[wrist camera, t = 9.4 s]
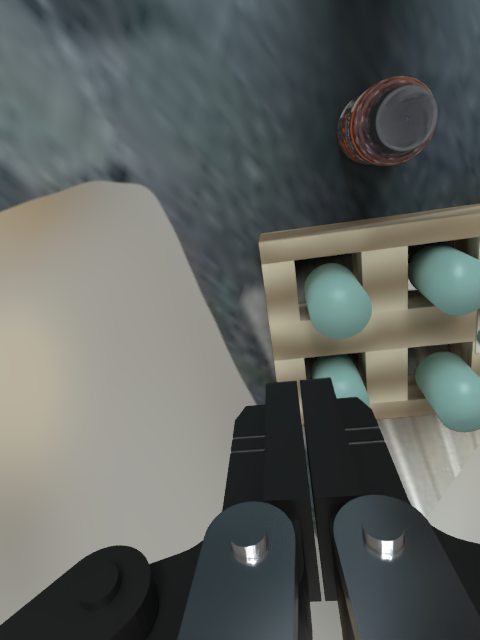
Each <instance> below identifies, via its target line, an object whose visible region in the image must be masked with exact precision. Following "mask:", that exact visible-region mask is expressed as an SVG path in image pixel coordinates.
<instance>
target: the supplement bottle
mask: <svg viewBox="0 0 480 640" xmlns="http://www.w3.org/2000/svg"><path fill="white" fill-rule="evenodd" d="M437 118H438V108H437V104H436V100H435V98H434V96H433V94H432V92H431V91H430V90H429V88H428V87H427V86H426V85H425V84H424V83H423V82H421V81H419V80H418V79H416V78H413V77H409V76H392V77H388V78H385V79H383V80H381V81H379V82H377V83H376V84H374V85H373V86H371V87H370V88H368V89H367V90H365V91H364V92H362V93H361V94H360V95H358V96H356V97H355V98H354V99H352V100H351V101H350V102H349V103H348V105H347V106H346V107H345V108H344V110H343V112H342V113H341V116H340V118H339V121H338V125H337V140H338V144H339V146H340V149H341V150H342V152H343V153H344V154H345V155H346V156H347V157H348V158H349V159H351V160H352V161H354V162H357V163H359V164H362V165H363V164H367V165H378V166H392V165H397V164H401V163H404V162H406V161H408V160H410V159H412V158H413V157H415V156H416V155H417V154H418V153H419V152H421V151H422V150H423V148H424V147H425V146H426V145H427V143H428V142H429V140H430V139H431V137H432V135H433V132H434V129H435V126H436V122H437Z"/></svg>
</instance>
